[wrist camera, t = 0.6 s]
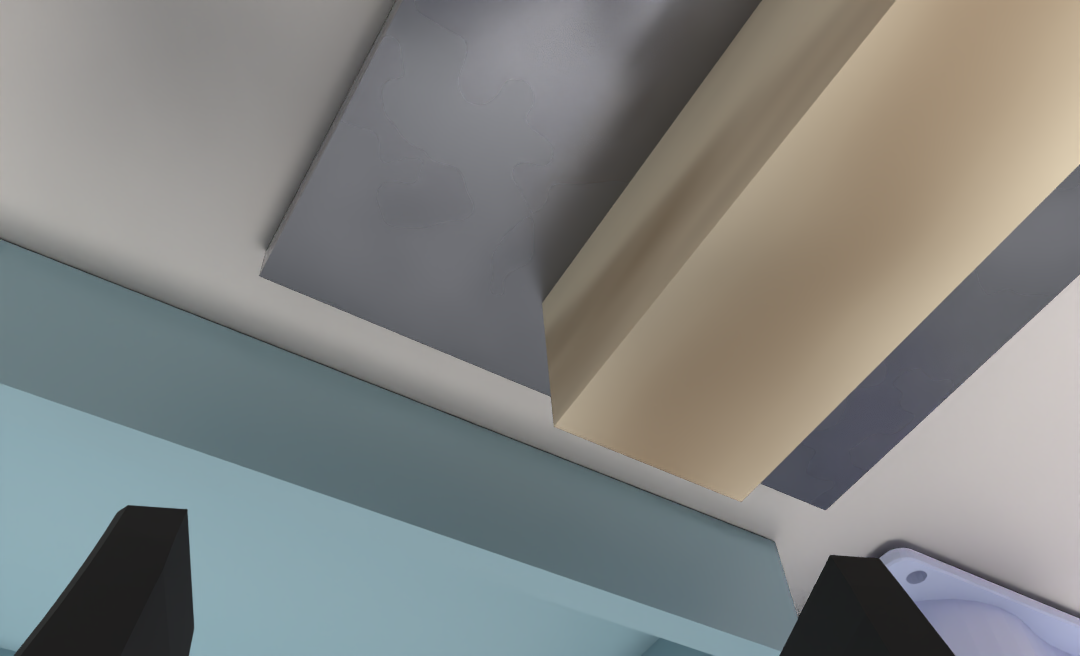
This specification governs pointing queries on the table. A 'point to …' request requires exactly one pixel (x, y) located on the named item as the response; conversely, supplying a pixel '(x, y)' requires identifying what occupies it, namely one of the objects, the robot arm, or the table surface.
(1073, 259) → the stud plate
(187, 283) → the table surface
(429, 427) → the bin
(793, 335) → the strut
